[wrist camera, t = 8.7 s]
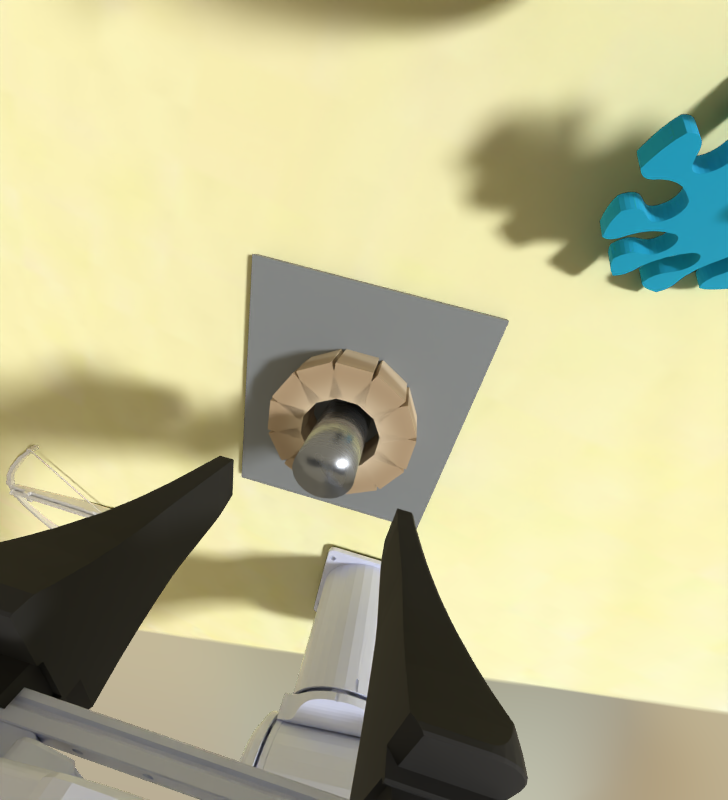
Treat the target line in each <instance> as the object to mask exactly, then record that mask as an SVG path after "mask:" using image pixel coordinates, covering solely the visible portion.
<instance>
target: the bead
mask: <svg viewBox="0 0 728 800" xmlns="http://www.w3.org/2000/svg"><path fill="white" fill-rule="evenodd" d="M378 361H379V358H378V357H374V356H370V355H367V354H363V353H359V352H356V351H352V350H348V349H346V350H345V351H344V352H343V351H342V349H339V350H336V351H332V352H328V353H324V354H321V355H317V356H313V357H311V358H310V359H307V360H306V361H305V362H304V363H303V364H302V365H301V366H300V367H299V368H298V369H297V370H296V371H294V372H293V373H292V374H291V376H290V377H289V378H288V379H287V380H286V381H285V382H284V384H283V385H282V386H281V387H280V388H279V389H278V390H277V391H276V393H275V394H274V395H273V396H272V397H273V398H272V399H271V400H270V410H269V421H268V430H271V431H270V432H269V435H270V437H271V439H272V442H273V444H274V446H275V448H276V450H277V452H278V454H279V456H280V458H281V460H286V459H287V460H286V461H285V463H284V464H285V465H287V466H288V467H289V468H290V469H292V465H293V461H294V459H295V457H296V455H297V454H298V452H299V450H300V449H301V447H302V446H303V444H304V442H305V441H306V439H307V437H308V436H309V434H310V432H311V431H312V429H313V428H314V426H315V424H316V423H317V420H316V417H315V415H314V409H315V404H316V403H318V402H323V401H327V400H332V399H340V400H343V401H347V402H350V403H354V404H357V405H359V406H360V407H361V408H362V409H363V410H364V411H365V412H366V413H368V414H369V415H370V416H371V417H372V418H373V419H374V422H375V425H376V428H377V431H378V434H377V435H375V436H374V437H373V438H372V439H370V440H369V441H368V442H365V444H364V448H363V452H362V455H361V459H360V462H359V466H358V469H357V473H356V476H355V480H354V483H353V486H352V488H351V489H350V490H349V491H348V492H347V493H346V494H352V493H360V492H368V491H376V490H377V487H378V488H379V489H381V488H382V487H384V486H385V485H387V484H388V483H389V482H391V481H392V480H394V479H395V478H397V477H398V476H399V475H401V474H402V473H404V469H406V468H407V466H408V463H409V460H410V458H411V455H412V452H413V450H414V447H415V444H416V438H417V414H416V410H415V407H414V403H413V399H412V395H411V391H410V388H409V387H407V383H406V382H405V381H404V380H403V379H402V378H401V377H400V376H399V375H398V374H397V373H396V372H395V371H394V370H393V369H392V368H391V367H390V366H389V365H388V364H387V363H386V362H385V361H384V360H383V361H382V362H381V363H380V364H379V365H378ZM377 365H378V366H377Z"/></svg>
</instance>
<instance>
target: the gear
mask: <svg viewBox="0 0 728 800" xmlns="http://www.w3.org/2000/svg"><path fill="white" fill-rule="evenodd" d="M701 145H702V140H701V137H700V134H699V131H698V128H697V125H696V122H695V119H694V118H693V117H692V116H691V115H687V114H681V115H680V116H678V117H677V118H675V119H673V120H672V121H670V122H669V123H668V124H666V125H665V126H664V127H662V128H661V129H660V130H659V131H658V132H656V133H655V134H654V135H653V136H652V137H651V138H650V139H649V140H648V141H647V142H646V143H644V144H643V145H642V146H641V147H640V148H639V149H638V150H637V157H638V162H639V166H640V170H641V174H642V176H643V177H645V178H646V179H651V180H655V179H663V180H670V181H673V182H676V183H678V184H679V185H681V186H682V187H683V188H682V190H681V191H680V192H679V193H678V194H677V195H676V196H675V197H674V198H672V199H671V200H669V201H667V202H665V203H662V204H659V205H654V206H650V205H647V204H645V202H644V201H643V199H642V197H641V195H640V194H638V193H636V192H627V193H622V194H619V195H617V196H616V197H615V198H614V199H613V200H612V202H611V203H610V204H609V206H608V207H607V208H606V210H605V212H604V214H603V216H602V218H601V220H600V226H601V232H602V237H603V238H605V239H617V238H621V237H624V236H627V235H631V234H635V233H640V232H647V231H660V232H666V233H664V234H663V235H661V236H658V237H656V238H652V239H641V238H635V237H627V238H623V239H620V240H617V241H615V242H613V243H612V244H610V246H609V250H608V255H609V261H610V267H611V272H612V275H613V276H614V275H622V274H626V273H629V272H631V271H633V270H635V269H637V268H639V267H641V266H642V267H641V268H639V271H640V276H641V282H642V285H643V286H644V287H645V288H647V289H649V290H652V291H655V292H658V291H662V290H664V289H667V288H669V287H671V286H672V285H674V284H675V283H677V282H678V281H679V280H680V279H682V278H683V277H685V276H686V275H688V274H690V273H691V272H693V271H695V270H697V269H698V270H697V271H696V277H697V281H698V285H699V288H702V289H728V140H727V141H726V142H724V143H723V144H722V145H721V146H719V147H718V148H716V149H714V150H713V151H711V152H708V153H706V154H703V155H699V156H697V154H698V152H699V150H700V148H701ZM675 255H676V256H675ZM670 256H671V257H670Z"/></svg>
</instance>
